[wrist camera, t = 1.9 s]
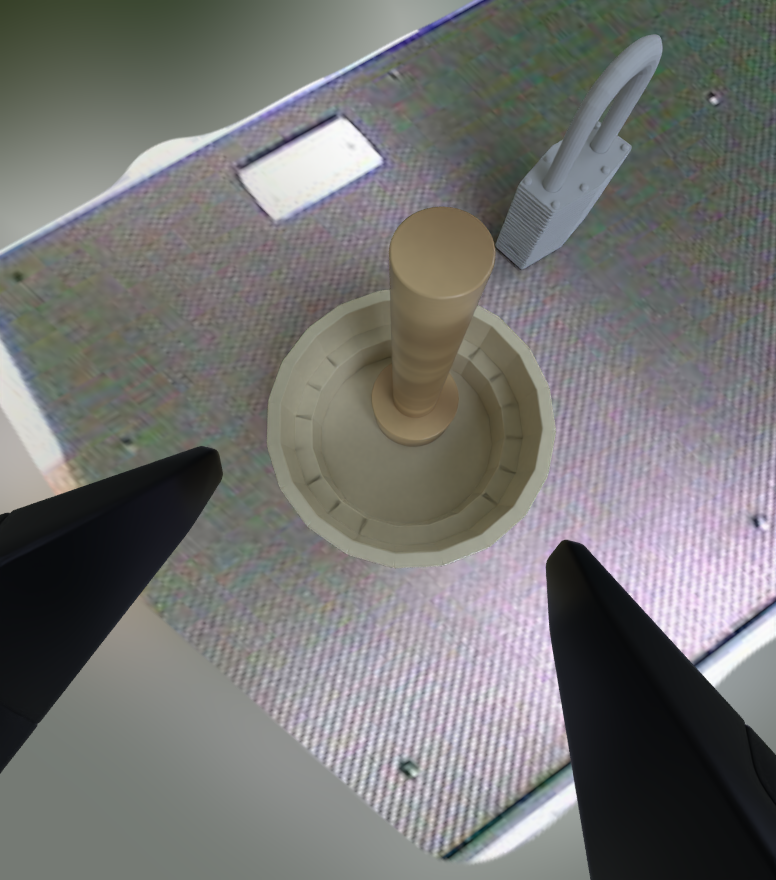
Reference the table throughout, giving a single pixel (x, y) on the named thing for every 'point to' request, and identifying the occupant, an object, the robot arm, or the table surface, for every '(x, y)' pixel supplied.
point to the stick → (429, 319)
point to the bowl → (402, 467)
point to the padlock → (578, 160)
